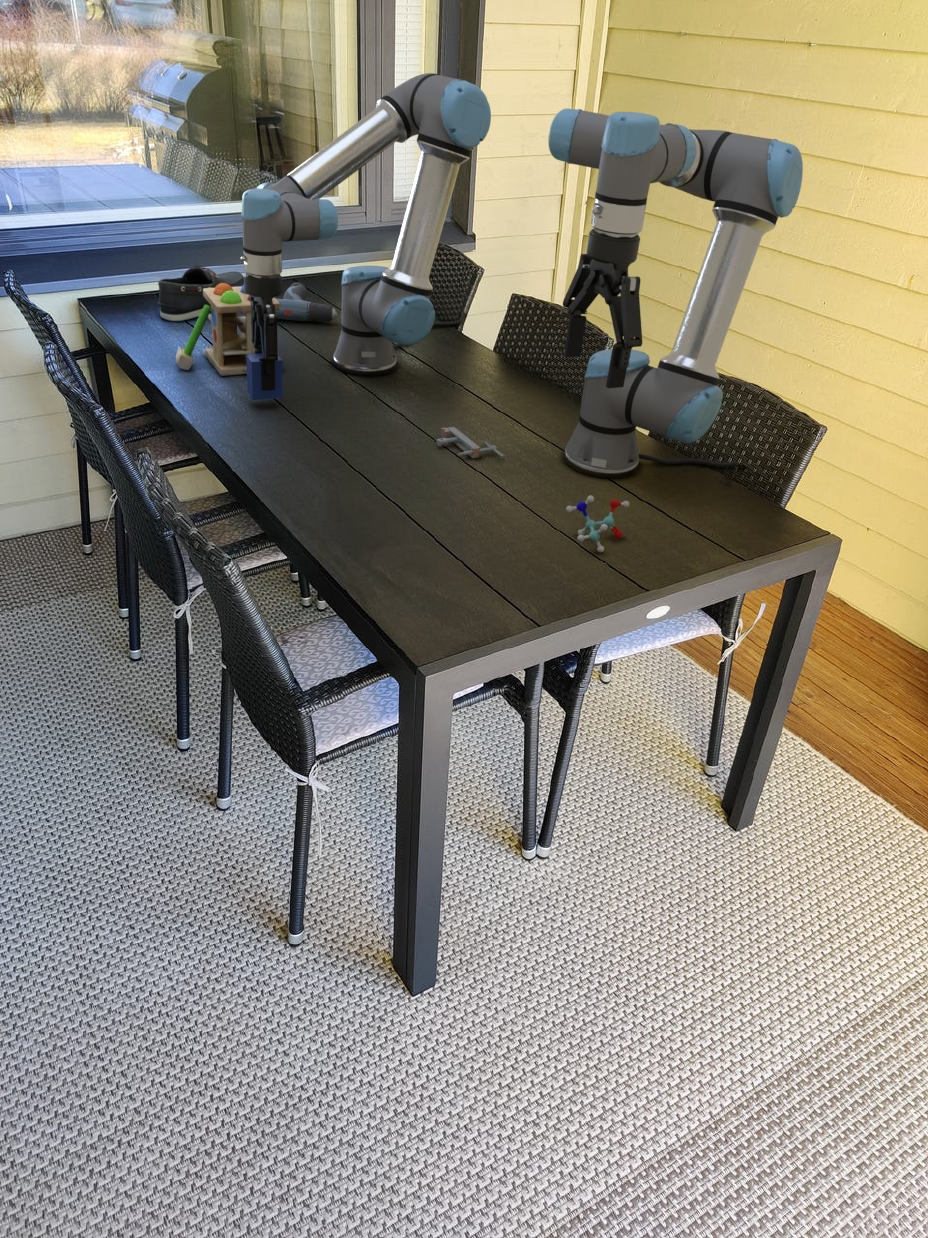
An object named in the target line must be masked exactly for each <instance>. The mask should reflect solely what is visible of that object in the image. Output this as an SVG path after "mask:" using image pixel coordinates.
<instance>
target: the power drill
mask: <svg viewBox="0 0 928 1238" xmlns="http://www.w3.org/2000/svg"><path fill="white" fill-rule="evenodd" d="M307 295H308V290H307V287H306V285H304V284H303V283H301V282H293V283H292V284H291V285H290V286H289V287H288V288H287V289H286V291H285V292H284V294H283V297H282V298H275V299H276V300H277V301H278V302H279V303H280V310H276V312H275V314H276V313H277V315H278V320H283V321H294V322H295V321H297V322H332V321H333V320H334V319H336V318H337V317H338V312H337V311H336V308H334V307H333V306H332V305H331V304H324V303H317V302H313V301H307V300H305V299H306V297H307Z"/></svg>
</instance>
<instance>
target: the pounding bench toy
mask: <svg viewBox="0 0 928 1238" xmlns="http://www.w3.org/2000/svg"><path fill="white" fill-rule="evenodd" d="M203 296H204V297H205V299H206V300H207V301H208V302H209V304H210V305H211V307H210V306H208V305H204V307H203V309H202V311H201V314H200V316H198V318H197V320H196V322H195V324H194V327H193V329H192V331H191V332H190V333H191V334H190V336H189V338H188V340H187V343H186V344H185V347H184V348H182V347H180V346H179V347H178V349H177V351H176V354H175V357H174V358H175V362H176V365H177V366H178V368H179V369H182V370H185V371H189V370H190V369H191V367H192V365H193V363H194V356H193V351H194V348H195V347H196V345H197V342H198V340H199V337H200V336H201V333H202V332H203V329H204V326H205V325H206V322H207V320H209V321H210V322H211V336H212V337H211V338H212V339H211V340H212V348H205V349H204V352H205V353H204V355H205V357H206V359H208V361H209V363H210V364H211V365H212V366H213V367H214V369H215V370H216V371H217V372H218V374H219V375H220V376H222V377H223V376H234V375H235V376H236V375H247V362H246V354H255V350H256V349H254V343H252V328H251V303H250V296H251V295H248V294H247V293H246V292H245V290H244V285H243V286H242V287H231V286H230V285H228V284H226V283H221V284H218V285H217V286H216V287H215V288H204V289H203ZM276 299H277V298H276V297H274V298H273V299H272V301H273V304H275V310H280V303H279V302H278V301H277V300H276ZM210 310H211V311H210ZM238 313H244V314H245V315H244V316H238ZM238 329H239V331H240V333H239V334H238ZM278 342H279V341H278V340H277V343H278Z"/></svg>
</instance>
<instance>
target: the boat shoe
mask: <svg viewBox="0 0 928 1238" xmlns="http://www.w3.org/2000/svg"><path fill="white" fill-rule="evenodd" d="M221 283H226V284H228V285H230V286H231V287H242V286H243V285H244V274H242V273H241V272H239V271H228V272H223V273H222V272H221V273H218V274H216V273H215V272H214V271H213V270H212V269H210V268H207V267H204V266H200V265H194V266H191V267H190V268H188V269H187V270H185V272H184V273H183V274H182V276H181V277H176V278H161V279H158V281H157V285H158V301H157V305H158V306H159V307H160V309H159V312H160V318H162V319H164V320H166V321H170V322H171V321H172V322H181V321H186V320H190V319H191V320H192V319H194V318H197V317H199V316H200V314H201V311H202V309H203V307H204V305H208V306H210V307H211V305H210V304H209V302H208V301H207V300H206V299H205V297H204V296H203V289H204V288H215V287H216V286H217V285H218V284H221ZM210 312H211V310H210Z"/></svg>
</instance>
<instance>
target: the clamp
mask: <svg viewBox="0 0 928 1238" xmlns="http://www.w3.org/2000/svg"><path fill="white" fill-rule="evenodd" d="M452 443H453V444H454V445H456V446H457V447H458V448H459V449H460V450H462V451H463V452H458V453H457V456H458V457H460V456H469V457H470V458H472V459H477V458H480V454H482V453H487V452H488V453H496V454H497V455H498V456H499V457H500V459H502V460H504V459H506V457H507V456H506V454H504V453H501V452H500V451H499V450H498V447H497V446H496V445H495V444H494V445H491V444H490V443H489V442H488V441H486V440H485V441H484V442H483V446H484V447H483V448H481V447H480V446H479V444H476V443H475V442H474V441H473V440H471V439H470V438H469V437H468V436H466V435H465V434H464V433H463V432H461V431H460V430H459V429H457V428H456V427H455V426H450V427H441V429H440V437H439V438H436V444H437V445H438V446H439V447H441V446H448V445H449V444H452Z"/></svg>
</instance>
